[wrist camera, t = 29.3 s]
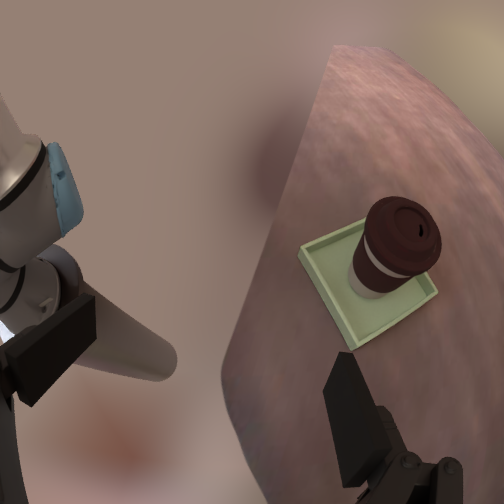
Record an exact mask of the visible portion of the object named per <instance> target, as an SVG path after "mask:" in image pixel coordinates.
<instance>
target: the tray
mask: <svg viewBox="0 0 504 504" xmlns="http://www.w3.org/2000/svg"><path fill="white" fill-rule="evenodd" d="M365 220H366V218H364V219H362V220H360V221H357V222H355V223H353V224H351V225H348V226H346V227H344V228H341V229H339V230H337V231H334V232H332V233H330V234H328V235H325V236H323V237H321V238H318V239H316V240H314V241H311V242H309V243H307V244H304V245H302V246H300V249H299V253H298V258H299V260H300V261H301V263H302V265H303V266H304V268H305V270H306V272H307V273H308V275H309V277H310V279H311V280H312V282H313V284H314V286H315V287H316V289H317V291H318V293H319V294H320V296H321V298H322V300H323V301H324V303H325V305H326V307H327V309H328V310H329V312H330V314H331V316H332V318H333V319H334V321H335V323H336V325H337V327H338V328H339V330H340V332H341V334H342V336H343V338H344V339H345V341H346V343H347V345H348V347H349V349H350V350H351V351H352V350H354V349H356V348H358V347H360V346H361V345H363V344H365V343H366V342H368V341H370V340H371V339H373V338H374V337H376V336H378V335H379V334H381V333H382V332H384V331H385V330H387V329H388V328H390V327H391V326H393V325H394V324H396V323H397V322H399V321H400V320H402V319H403V318H405V317H406V316H408V315H409V314H410V313H412V312H413V311H415V310H416V309H417V308H419V307H420V306H422V305H423V304H424V303H426V302H427V301H428V300H430V299H431V298H432V297H434V296H435V295H436V294H438V293H439V292H438V290H437V288H436V287H435V285H434V283H433V282H432V280H431V279H430V277H429V275H428V274H427V272H425V273H423V274H421V275H417V276H414V277H413V278H412V279H410V280H409V281H407V282H406V283H405V284H403V285H402V286H400V287H399V288H397V289H396V290H394V291H392V292H389V293H388V294H386V295H385V296H383V297H381V298H378V299H367V298H364V297H362V296H360V295H359V294H357V293H356V292H355V291H354V289H353V288H352V286H351V285H350V282H349V278H348V270H349V266H350V264H351V262H352V259H353V255H354V252H355V249H356V247H357V245H358V243H359V240H360V238H361V236H362V234H363V231H364V224H365Z"/></svg>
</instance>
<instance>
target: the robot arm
mask: <svg viewBox="0 0 504 504" xmlns="http://www.w3.org/2000/svg"><path fill="white" fill-rule="evenodd" d="M83 213H84V211H83V205H82V202H81V198H80V195H79V192H78V190H77V187H76V184H75V181H74V178H73V176H72V173H71V170H70V168H69V165H68V163H67V160H66V158H65V156H64V153H63V151H62V149H61V147H60V146H59V144H58V143H57V142H53V143H49V144H48V145H47V147H45V146H44V144H43V142H42V141H41V139H40V138H39V137H38V135H35V134H23V133H22V132H21V130H20V128H19V127H18V125H17V123H16V121H15V120H14V118H13V116H12V114H11V113H10V111H9V109H8V107H7V106H6V104H5V102H4V100H3V98H2V96H1V94H0V320H1V321H2V322H3V323H4V324H5V326H6V327H7V328H8V329H9V330H10V331H11V332H12V333H13V334H15V336H14V337H12V338H11V339H9V340H8V341H7V342H5V343H4V344H3V345H1V346H0V504H29V503H28V499H27V495H26V491H25V487H24V482H23V477H22V472H21V466H20V460H19V453H18V447H17V438H16V429H15V428H16V427H15V413H14V399H13V395H12V394H13V393H14V392H15V391H17V394H18V397H19V399H20V401H22V402H24V403H25V404H27V405H28V406H30V407H33V405H34V404H35V403H36V402H37V401H38V400H39V399H40V397H42V396H43V394H44V393H45V392H46V391H47V390H48V389H49V388H50V387H51V386H52V385H53V384H54V383H55V381H56V380H57V379H58V378H59V377H60V376H61V375H62V374H63V373H64V372H65V371H66V370H67V369H68V368H69V367H70V366H71V364H73V362H74V361H75V360H76V359H77V358H78V357H79V356H80V355H81V354H82V353H83V352H84V351H85V350H86V349H87V348H88V347H89V346H90V345H91V344H92V343H93V342H94V341H95V340H96V339H97V336H96V315H95V296H92V295H89V294H86V293H83V294H81V295H80V296H78V297H77V298H76V299H74V300H73V301H71V302H70V303H68V304H67V305H65V306H64V307H63V308H61V309H60V310H58V309H59V306H60V302H61V294H62V287H61V280H60V276H59V274H58V272H57V270H56V269H55V267H54V266H53V265H52V264H50V263H49V262H48V261H46V260H45V259H43V258H40V257H37V255H38V254H39V253H41V252H42V251H43V250H45V249H46V248H48V247H49V246H50V245H52V244H53V243H54V242H56V241H57V240H59V239H60V238H63V237H64V236H65V234H66V233H67V232H69V231H70V230H71V229H73V228H74V227H75V226H77V225H78V224H79V223H80V222H81V220H82V218H83ZM323 395H324V399H325V404H326V408H327V413H328V417H329V422H330V426H331V431H332V435H333V440H334V445H335V450H336V454H337V459H338V464H339V469H340V474H341V479H342V485H343V488H351V487H360V486H361V485H362V484H363V483H364V482H365V481H366V480H367V483H368V486H369V487H368V488H367V489H366V490H365V491H364V492H363V493H362V494H361V495H360V496H359V497H358V498H357V499H358V501H357V502H356V503H355V504H463V469H462V465H461V464H460V462H459V461H458V460H456V459H455V458H452V457H444V458H442V459H441V460H440V461H439V462H438V463H437V464H431V463H423V462H422V460H421V459H420V457H419V456H418V455H416V454H415V453H413V452H410V451H407V449H406V447H405V444H404V442H403V440H402V437H401V435H400V433H399V431H398V429H397V426H396V424H395V423H394V419H393V417H392V415H391V413H390V412H389V411H388V410H387V409H386V408H385V407H384V406H376V405H375V403H374V401H373V398H372V396H371V394H370V391H369V389H368V387H367V384H366V382H365V380H364V377H363V375H362V373H361V371H360V368H359V366H358V364H357V362H356V359H355V357H354V355H353V353H347V352H339V354H338V356H337V359H336V361H335V364H334V366H333V368H332V371H331V373H330V376H329V378H328V380H327V383H326V385H325V387H324V389H323Z"/></svg>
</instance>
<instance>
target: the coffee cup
mask: <svg viewBox="0 0 504 504" xmlns="http://www.w3.org/2000/svg"><path fill="white" fill-rule="evenodd" d="M441 246H442V243H441V236H440V232H439V229H438V227H437V225H436V223H435V221H434V220H433V218H432V216H431V215H430V213H429V212H428V211H427V210H426V209H425V208H424V207H423V206H421V205H420V204H418V203H416V202H414V201H411V200H409V199H406V198H403V197H396V196H391V197H386V198H383V199H381V200H379V201H377V202H376V203H375V204H374V205H373V206H372V207H371V209H370V211H369V213H368V215H367V217H366V220H365V224H364V231H363V234H362V236H361V238H360V240H359V243H358V245H357V247H356V249H355V252H354V255H353V259H352V262H351V264H350V266H349V270H348V278H349V282H350V285H351V286H352V288H353V289H354V291H355V292H356V293H357V294H359V295H360V296H362V297H364V298H367V299H378V298H381V297H383V296H385V295H386V294H388V293H389V292H392V291H394V290H396V289H397V288H399V287H400V286H402V285H403V284H405V283H406V282H407V281H409V280H410V279H412V278H413V277H414V276H417V275H421V274H423V273H425V272H426V271H428V270H429V269H430V268H431V267H432V266H433V265H434V264H435V263H436V262H437V260H438V258H439V256H440V253H441Z"/></svg>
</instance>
